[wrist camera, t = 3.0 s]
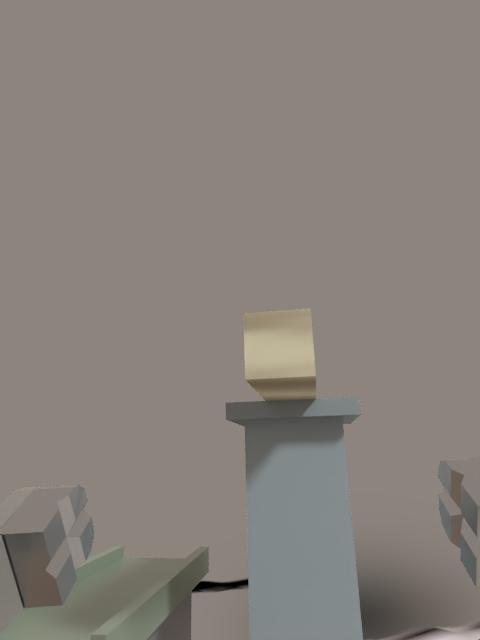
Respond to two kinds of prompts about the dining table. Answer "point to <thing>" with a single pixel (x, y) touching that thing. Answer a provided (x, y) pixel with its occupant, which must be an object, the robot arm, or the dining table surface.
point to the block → (280, 354)
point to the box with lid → (119, 601)
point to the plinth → (299, 519)
